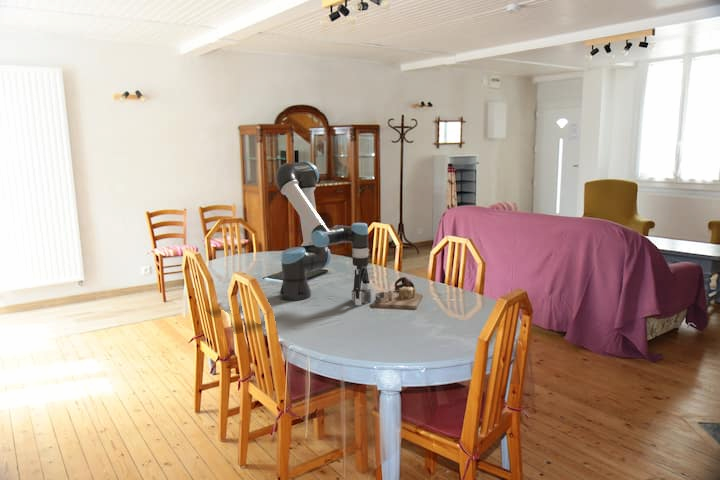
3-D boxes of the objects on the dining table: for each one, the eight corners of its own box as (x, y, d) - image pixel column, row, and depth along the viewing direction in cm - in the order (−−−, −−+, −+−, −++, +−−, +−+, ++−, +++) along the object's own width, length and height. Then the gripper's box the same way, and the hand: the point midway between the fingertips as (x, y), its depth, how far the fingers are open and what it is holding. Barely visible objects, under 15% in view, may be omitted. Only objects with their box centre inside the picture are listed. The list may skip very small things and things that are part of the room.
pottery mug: (417, 294, 272) (409, 281, 269) (399, 302, 274) (392, 289, 271) (416, 282, 283) (408, 269, 280) (399, 290, 285) (391, 277, 282)
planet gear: (349, 303, 258) (349, 293, 257) (354, 298, 267) (354, 288, 266) (368, 304, 256) (368, 293, 255) (373, 298, 265) (372, 288, 264)
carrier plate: (372, 306, 252) (372, 294, 251) (381, 294, 271) (381, 282, 270) (416, 309, 247) (416, 296, 246) (422, 296, 266) (422, 284, 265)
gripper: (361, 262, 245) (363, 309, 248) (374, 251, 268) (375, 294, 272) (345, 262, 247) (347, 308, 250) (359, 251, 270) (360, 293, 274)
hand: (361, 301), depth 261 cm, fingers open, 13 cm apart
